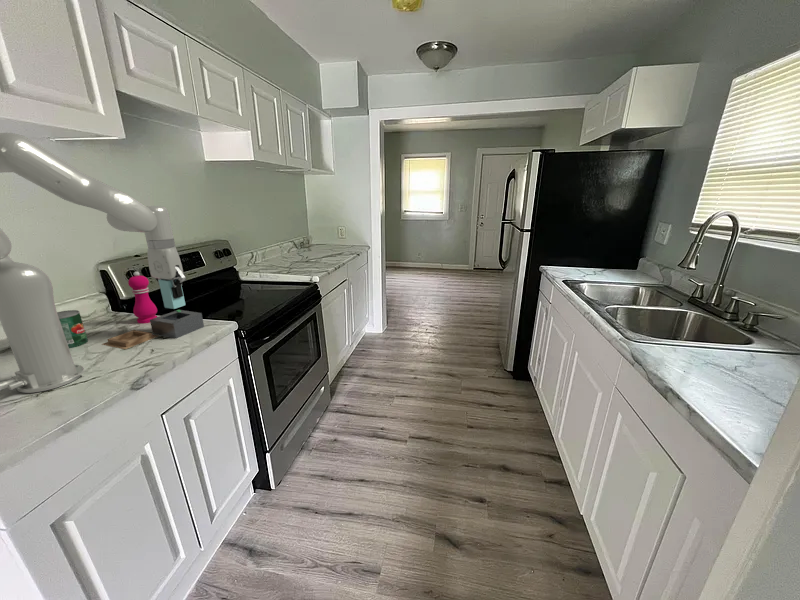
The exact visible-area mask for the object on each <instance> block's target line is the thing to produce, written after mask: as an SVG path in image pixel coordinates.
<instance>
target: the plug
mask: <svg viewBox="0 0 800 600" xmlns="http://www.w3.org/2000/svg"><path fill="white" fill-rule="evenodd" d="M175 277H176V276H175ZM175 277H174V278H175ZM174 281H175V282H176V279H175V280H174ZM159 285H160V286H159ZM158 286H159V289H160V293H161V297H162V301H163V307H164V308H165V309H173V310H175V309H178V308H181V307H184V306H186V301H185V296H184V294H183V296H182V297H179V298H176V299H175V298H174V297H173V293H172V287H173V286H172V284H171V281H170V280H168V279H160V280H159V284H158ZM182 286H183V285H182ZM182 286H181V287H182ZM182 288H183V287H182ZM182 292H183V293H184V291H183V289H182Z"/></svg>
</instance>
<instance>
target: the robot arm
mask: <svg viewBox="0 0 800 600" xmlns="http://www.w3.org/2000/svg"><path fill="white" fill-rule="evenodd" d="M0 173H1V174H3V173H4V174H5V173H14V174H16V175H17V176H20V177H21V178H23V179H24V180H25V179H26V180H27V181H29V182H31V183H32V184H34V185H36V186H39V188H42V189H43V190H45V191H48V192H50V193H51V194H53V195H55V196H57V197H59V198H60V199H62V200H64V201H66V202H69V203H72V204H75V205H78V206H83V207H86V208H91V209H94V210H98V211H100V212H102V213H105V214H106V221H107V223H108V225H110V227H112V228H114V229H116V230H117V231H122V232H129V233H130V232H131V233H132V232H133V233H144V237H145V240H146V244H147V246H146V247H147V249H146V250H147V254H146V255H147V263H148V269H149V273H150V276H151V277H152V278H154V279H155V280H156V281H157V283H158V286H159V287H160V285H159V280H160V279H168V280H170V281H171V284H172V286H173V287H172V293H173V297H174V298H175V299H176V298H179V297H182V296H183V295H184V291H183V292H182V290H183V287H181V286H183V282H185V280H186V278H187V277H186V276H185V275H184V269H183V264H182V262H181V258H180V255H179V252H178V250H177V247H176V241H175V236H174V233H173V228H172V224H171V219H170V214H169V210H168V209H167V208H168V207H167V208H166V206H162V205H147V206H146V205H144V204H143V203H142V202H140V201H139V200H138V199H135V198H134V197H133V196H131V195H129V194H127V193H125V192H123V191H121V190H119V189H117V188H116V187H113V186H111V185H109V184H107V183H104V182H102V181H101V180H99V179H96V178H94V177H92V176H89V175H87V174H86V173H84V172H83V171H81V170H79V169H78V168H76V167H75V166H72V165H71V164H70V163H68V162H66V160H63V159H61V158H60V157H59V156H57V155H56V154H54V153H53V152H51V151H49V150H47V149H46V148H44V147H42V146H41V145H40V144H38V143H37V142H35V141H34V140H31V139H30V138H28V137H25V136H23V135H22V134H18V133H15V132H14V133H13V132H0ZM11 251H12V241H11V240H10V238H9V236H8V234H6V233H5V232H4V230H2V229H1V228H0V325H1V327H2V330H3V332H4V334H5V337H6V338H7V342H8V344H9V346H10V349H11V351H12V354H13V356H14V360H15V362H16V364H17V367H18V369H19V370H16V371H14V376H11V378H10V379H7V380H2V381H0V391H1V392H2V391H4V390H6V389H8V390H10V391H12V390H15V389H16V390H17V392H20V393H24V394H25V393H26V394H30V393H31V394H32V393H39V392H45V391H46V392H47V391H49V390H54V389H57V388H60V387H63V386H65V385H68V384H70V383H72V382H74V381H76V380H78V379H79V378H81V377H82V375H83V374H85V373H84V372H85V368H84V366H82V365H80V364H75V362H74V359H73V356H72V353H71V351H70V348H69V347H68V344H67V341H66V338H65V335H64V332H63V329H62V326H61V323H60V320H59V317H58V314H57V312H58V310H57V308H56V304H55V299H54V297H55V296H54V289H53V284H52V281H51V279H50V277H49V276H48V274H46V272H45V271H43V270H42V269H40V268H39V267H36V266H34V265H32V264H29V263H23V262H17V261H14V260H13V259H12V258H11V257H10V256H9V255H10V254H11ZM175 276H176V277H175ZM174 277H175V278H174ZM175 279H176V282H175V281H174V280H175Z"/></svg>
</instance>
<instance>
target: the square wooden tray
mask: <svg viewBox="0 0 800 600" xmlns="http://www.w3.org/2000/svg"><path fill="white" fill-rule="evenodd" d="M158 337H159V335H155V334H153V332H147V331H142V330H137V329H133V330H130V331H127V332H124V333H121V334H119V335H116V336H113V337H112V336H111V337H110V338H107V340H106V341H107V342H103V343H102V344H101V345H102V346H108V347H113V348H117V349H121V350H127V349H129V348H133V347H135V346H138V345H140V344H142V343H145V342H147V341H150V340H153V339H155V338H158Z"/></svg>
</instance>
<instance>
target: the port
mask: <svg viewBox="0 0 800 600" xmlns="http://www.w3.org/2000/svg"><path fill="white" fill-rule="evenodd" d="M149 324H150V328H151V331H152V335H157V336H162V337H166V338H171V339H178V338H179V339H180V338H181V337H183V336H186V335H188V334H191V333H193V332H196V331H197V330H200V329H203V328H205V324H204V320H203V313H202V312H197V311H189V310H183V309H177V310H174V311H171V312H169V313H164V314H162V315H159V316H157V317H156V318H153V319H150V323H149Z"/></svg>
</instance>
